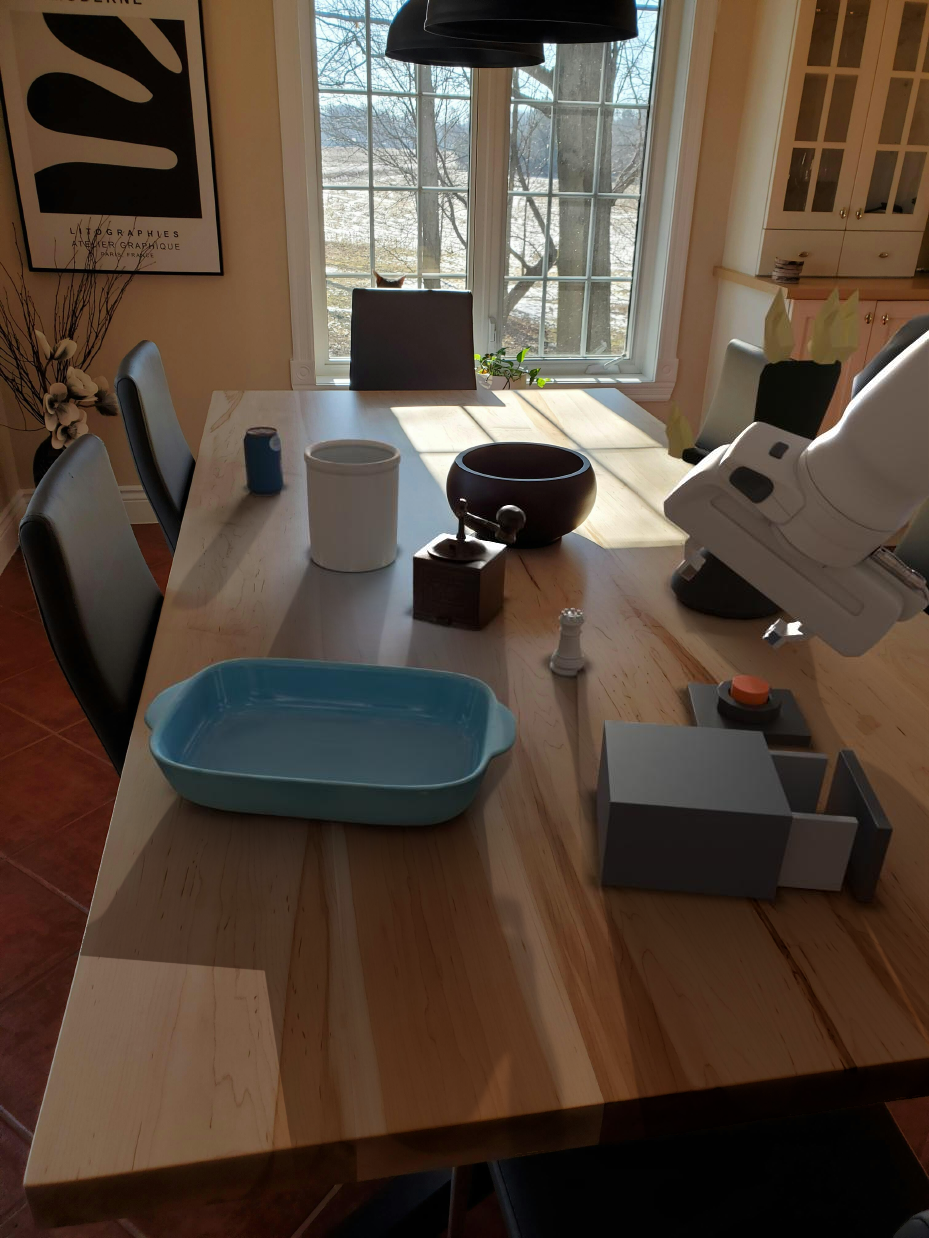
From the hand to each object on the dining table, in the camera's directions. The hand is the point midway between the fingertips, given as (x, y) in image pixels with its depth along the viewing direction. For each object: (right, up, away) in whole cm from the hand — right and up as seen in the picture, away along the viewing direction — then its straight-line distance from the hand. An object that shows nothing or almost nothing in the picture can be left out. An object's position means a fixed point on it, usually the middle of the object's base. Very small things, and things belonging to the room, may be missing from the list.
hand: (727, 605), depth 78 cm
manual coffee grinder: (-22, -1, +48) cm, 53 cm away
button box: (+9, -13, +24) cm, 29 cm away
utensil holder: (-41, +9, +67) cm, 79 cm away
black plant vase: (+17, +1, +54) cm, 57 cm away
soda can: (-61, +23, +96) cm, 116 cm away
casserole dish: (-36, -17, +14) cm, 43 cm away
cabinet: (-3, -23, +4) cm, 23 cm away
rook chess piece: (-10, -8, +35) cm, 37 cm away
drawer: (+6, -22, +3) cm, 23 cm away
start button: (+9, -10, +22) cm, 26 cm away
